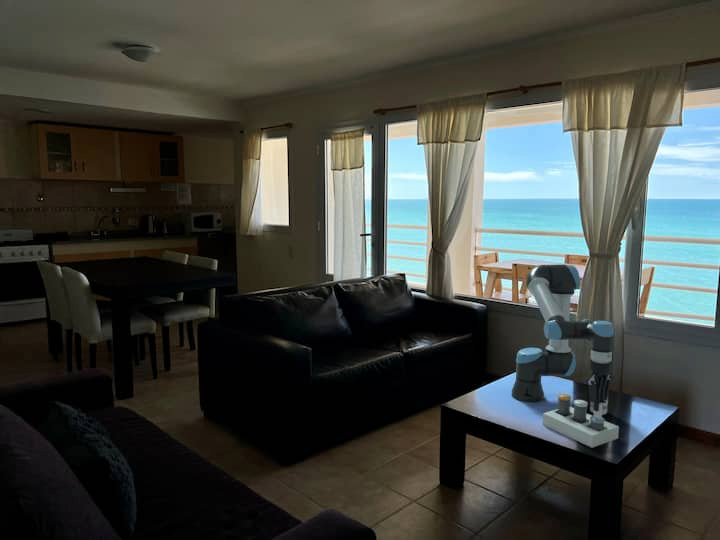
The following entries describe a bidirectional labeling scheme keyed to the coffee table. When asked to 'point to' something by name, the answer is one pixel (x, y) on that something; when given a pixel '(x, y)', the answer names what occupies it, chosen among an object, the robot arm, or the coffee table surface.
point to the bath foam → (602, 409)
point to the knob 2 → (580, 411)
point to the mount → (580, 428)
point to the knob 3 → (597, 423)
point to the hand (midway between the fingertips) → (597, 418)
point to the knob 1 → (564, 404)
